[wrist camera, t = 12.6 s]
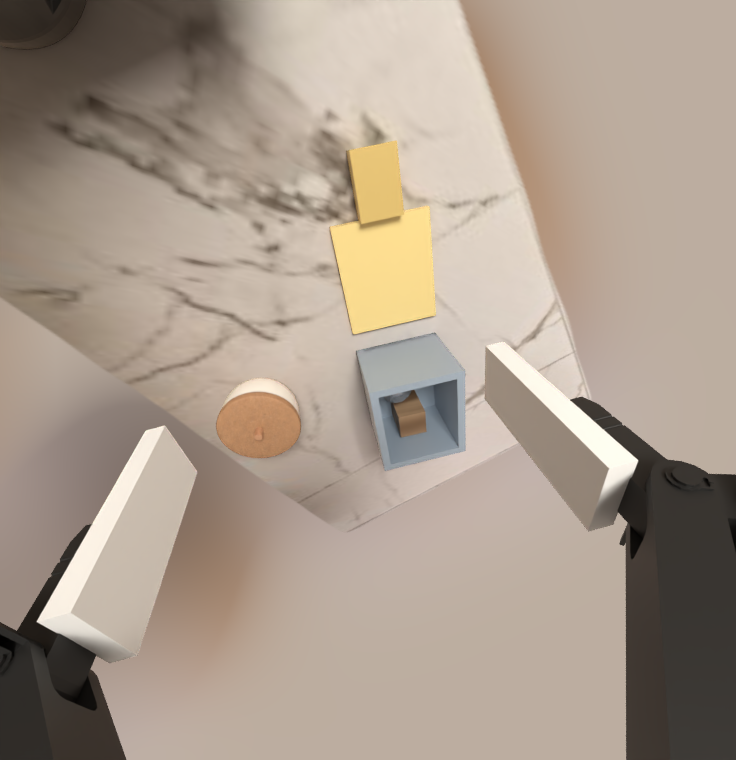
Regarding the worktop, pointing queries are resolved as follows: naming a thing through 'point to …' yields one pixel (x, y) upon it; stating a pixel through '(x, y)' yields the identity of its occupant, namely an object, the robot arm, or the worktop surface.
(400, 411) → the walnut part
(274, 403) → the lidded jar
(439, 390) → the tub
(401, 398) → the steel part
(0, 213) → the worktop surface
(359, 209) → the lid
